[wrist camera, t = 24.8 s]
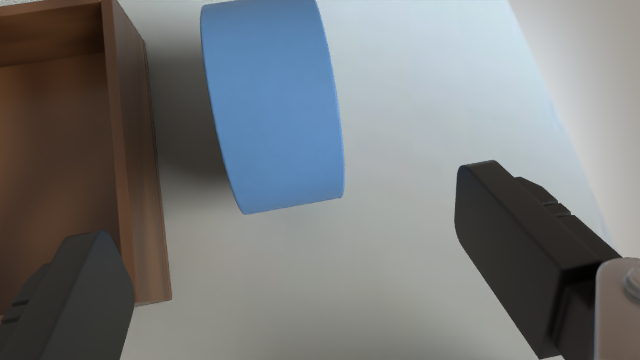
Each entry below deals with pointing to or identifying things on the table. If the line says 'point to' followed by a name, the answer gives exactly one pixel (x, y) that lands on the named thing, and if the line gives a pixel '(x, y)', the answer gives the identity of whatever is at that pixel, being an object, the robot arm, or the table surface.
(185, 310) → the table surface
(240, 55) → the tape roll
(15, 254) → the wooden box
